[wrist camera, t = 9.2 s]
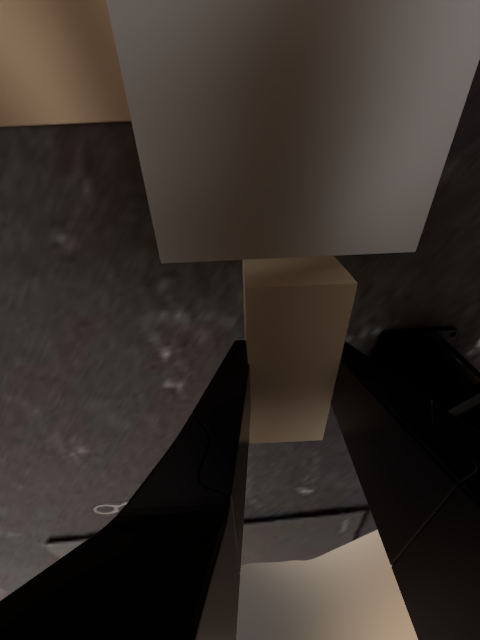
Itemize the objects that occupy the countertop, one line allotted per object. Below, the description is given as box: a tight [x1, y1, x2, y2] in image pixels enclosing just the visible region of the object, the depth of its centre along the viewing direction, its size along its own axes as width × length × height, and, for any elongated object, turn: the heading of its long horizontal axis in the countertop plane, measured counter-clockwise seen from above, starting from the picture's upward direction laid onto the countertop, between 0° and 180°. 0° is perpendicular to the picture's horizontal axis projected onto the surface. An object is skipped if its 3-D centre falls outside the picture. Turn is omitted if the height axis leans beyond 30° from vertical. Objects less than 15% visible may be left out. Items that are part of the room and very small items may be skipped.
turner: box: [106, 0, 480, 444], centre depth 7 cm, size 7×11×2 cm, turn 2°
